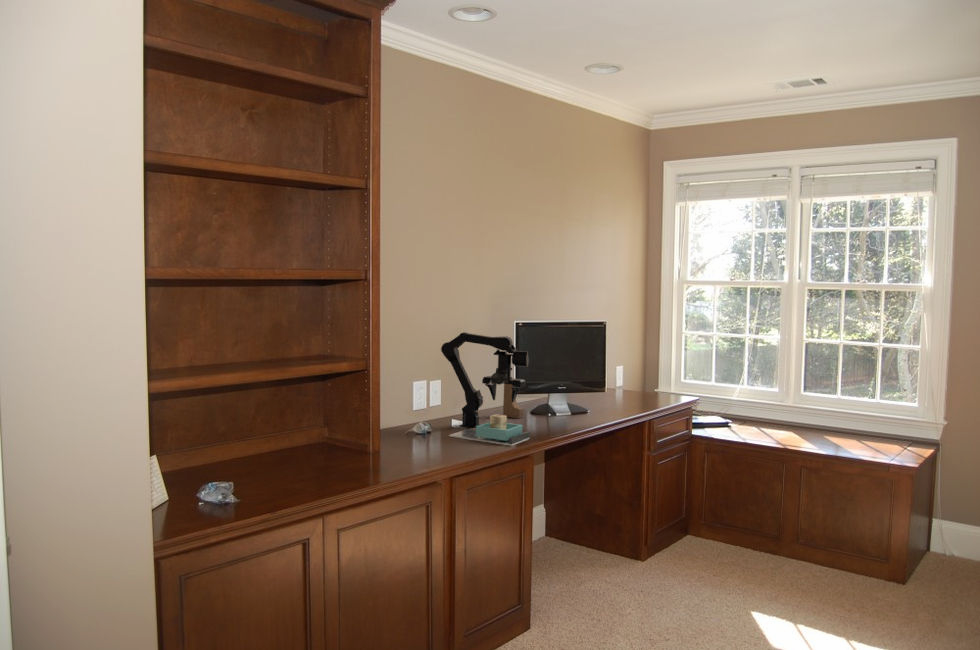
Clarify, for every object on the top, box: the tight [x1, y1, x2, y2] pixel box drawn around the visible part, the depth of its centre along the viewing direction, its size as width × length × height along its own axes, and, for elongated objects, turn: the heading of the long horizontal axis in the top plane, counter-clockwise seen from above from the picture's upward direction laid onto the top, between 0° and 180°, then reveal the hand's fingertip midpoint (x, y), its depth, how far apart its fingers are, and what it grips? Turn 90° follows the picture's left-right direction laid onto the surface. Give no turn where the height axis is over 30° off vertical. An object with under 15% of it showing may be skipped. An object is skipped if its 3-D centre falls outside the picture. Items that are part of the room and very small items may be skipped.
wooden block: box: [502, 377, 525, 420], centre depth 360 cm, size 9×4×18 cm, turn 56°
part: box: [489, 413, 508, 430], centre depth 310 cm, size 5×5×7 cm
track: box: [448, 428, 531, 447], centre depth 312 cm, size 29×16×3 cm, turn 61°
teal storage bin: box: [475, 421, 524, 441], centre depth 309 cm, size 14×14×5 cm
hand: (503, 401), depth 331 cm, fingers open, 9 cm apart
